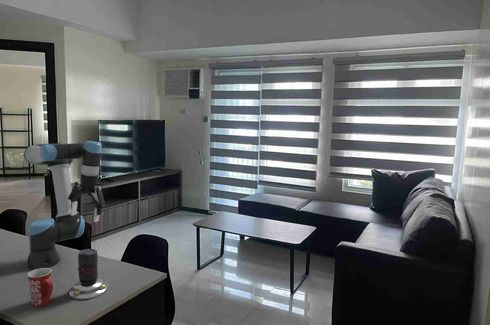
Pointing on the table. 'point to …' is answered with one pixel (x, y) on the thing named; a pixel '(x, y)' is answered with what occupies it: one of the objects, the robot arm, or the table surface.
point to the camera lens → (88, 267)
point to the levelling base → (87, 294)
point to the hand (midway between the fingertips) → (84, 218)
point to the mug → (40, 286)
